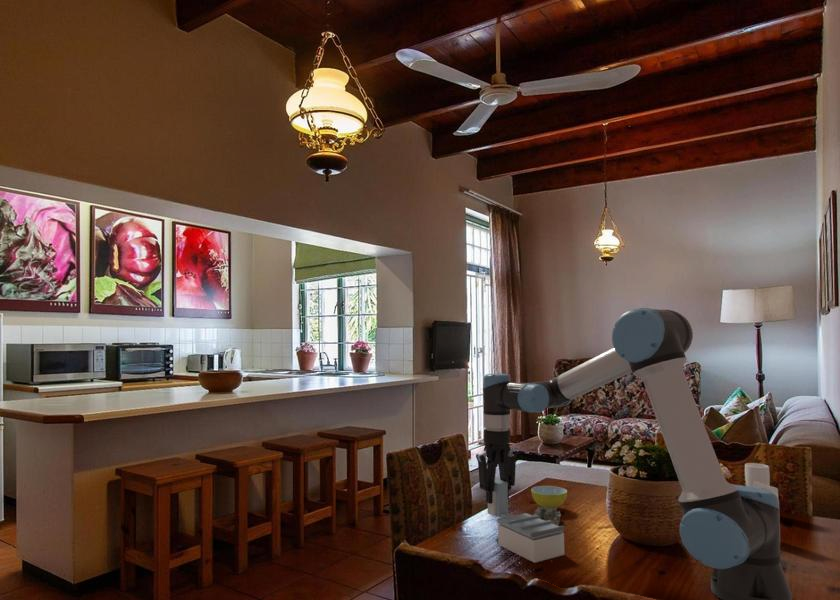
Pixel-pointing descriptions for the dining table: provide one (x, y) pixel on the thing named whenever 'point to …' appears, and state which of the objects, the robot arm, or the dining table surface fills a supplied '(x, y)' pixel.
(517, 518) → the grey stepped piece
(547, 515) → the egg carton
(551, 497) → the bowl
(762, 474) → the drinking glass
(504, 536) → the tub
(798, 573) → the dining table surface
